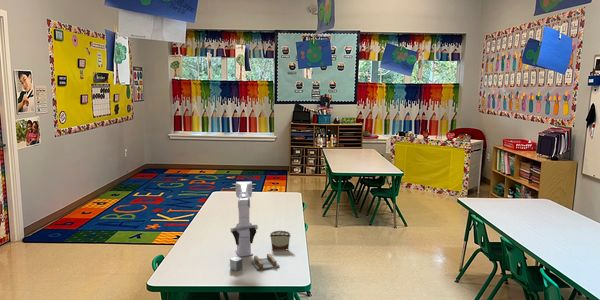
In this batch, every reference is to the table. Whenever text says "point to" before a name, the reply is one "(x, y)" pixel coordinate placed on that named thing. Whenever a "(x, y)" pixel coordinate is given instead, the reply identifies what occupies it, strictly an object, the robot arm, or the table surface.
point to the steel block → (236, 264)
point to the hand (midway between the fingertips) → (244, 243)
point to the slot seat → (264, 263)
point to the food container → (280, 240)
